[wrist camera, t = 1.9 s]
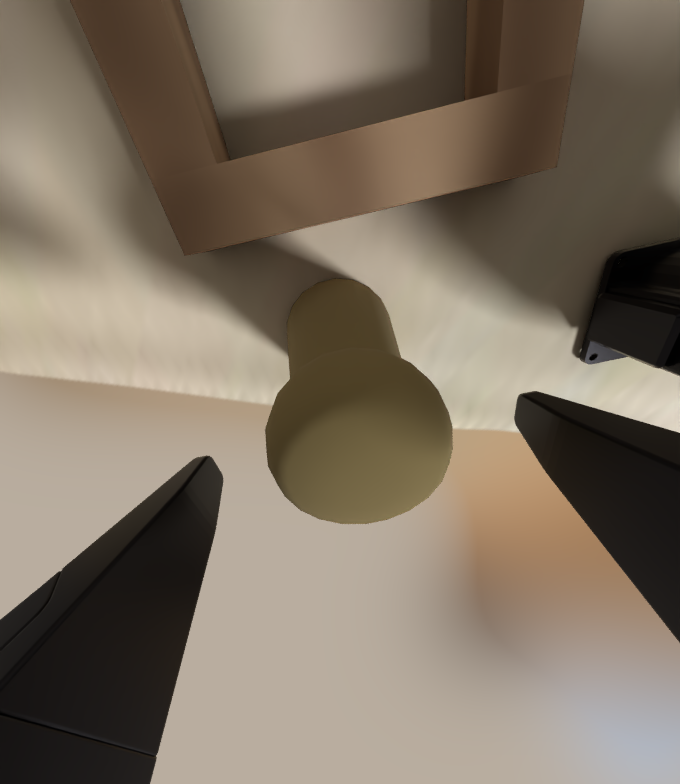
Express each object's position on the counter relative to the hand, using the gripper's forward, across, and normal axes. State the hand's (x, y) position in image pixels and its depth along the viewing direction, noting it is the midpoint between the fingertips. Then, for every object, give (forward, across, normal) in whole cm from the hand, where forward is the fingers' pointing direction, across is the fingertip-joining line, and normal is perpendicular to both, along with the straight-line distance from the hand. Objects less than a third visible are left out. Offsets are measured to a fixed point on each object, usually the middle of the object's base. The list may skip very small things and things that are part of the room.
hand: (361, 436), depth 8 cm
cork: (+10, 0, 0) cm, 10 cm away
